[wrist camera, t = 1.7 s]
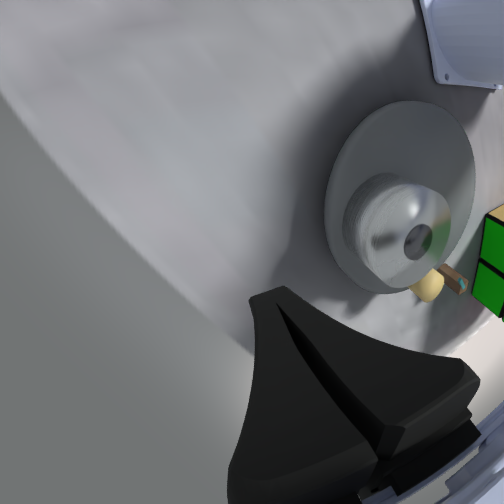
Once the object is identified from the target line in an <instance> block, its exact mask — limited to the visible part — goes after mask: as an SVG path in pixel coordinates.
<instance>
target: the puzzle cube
mask: <svg viewBox="0 0 504 504" xmlns="http://www.w3.org/2000/svg"><path fill="white" fill-rule="evenodd" d="M480 257H481V258H480V259H479V261H478V267H477V271H476V276H475V281H474V285H473V289H472V296H474V297H475V298H476V299H477V300H478V301H480V302H481V303H482V304H483V305H484V306H486V307H487V308H488V309H489V310H490V311H492V312H493V313H494V314H495V315H496V316H497V317H498V318H502V321H503V322H504V204H503V205H502V206H500V207H498V208H496V209H495V210H493V211H491V212H489V213H488V214H486V215H485V223H484V231H483V238H482V244H481V250H480Z"/></svg>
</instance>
